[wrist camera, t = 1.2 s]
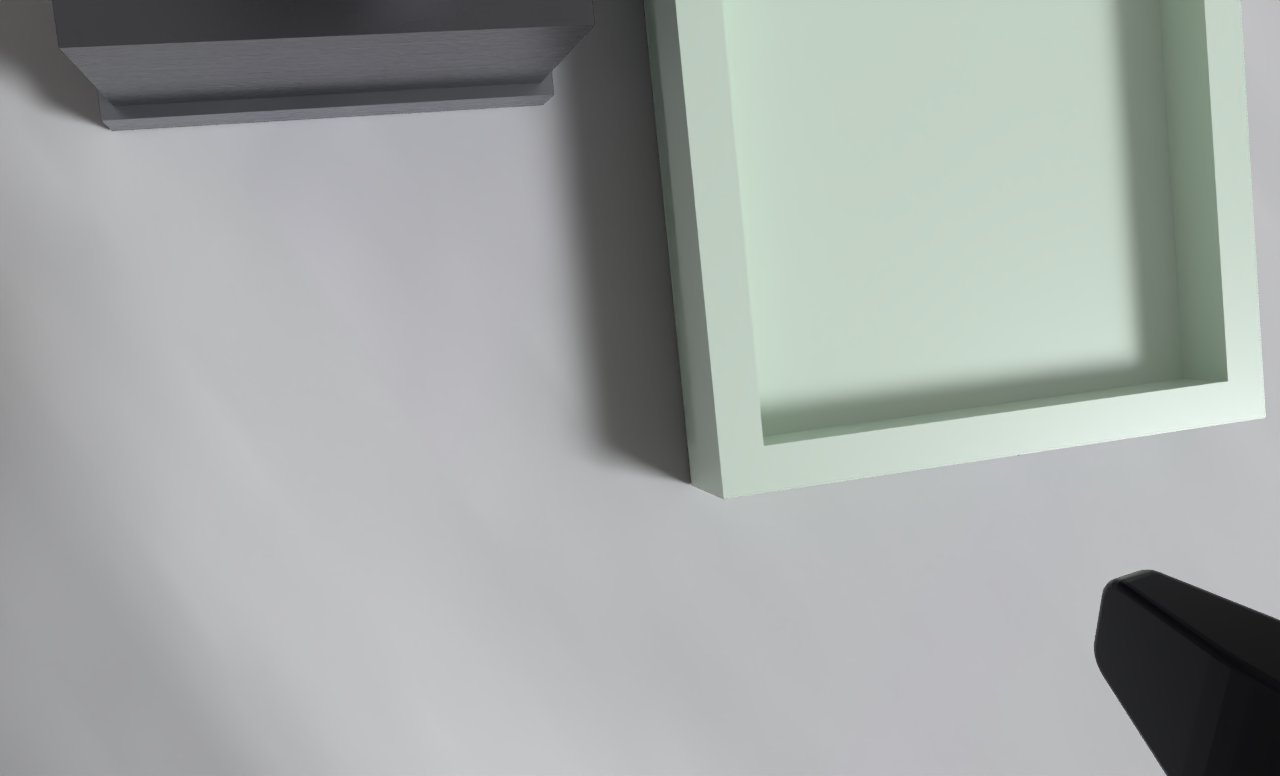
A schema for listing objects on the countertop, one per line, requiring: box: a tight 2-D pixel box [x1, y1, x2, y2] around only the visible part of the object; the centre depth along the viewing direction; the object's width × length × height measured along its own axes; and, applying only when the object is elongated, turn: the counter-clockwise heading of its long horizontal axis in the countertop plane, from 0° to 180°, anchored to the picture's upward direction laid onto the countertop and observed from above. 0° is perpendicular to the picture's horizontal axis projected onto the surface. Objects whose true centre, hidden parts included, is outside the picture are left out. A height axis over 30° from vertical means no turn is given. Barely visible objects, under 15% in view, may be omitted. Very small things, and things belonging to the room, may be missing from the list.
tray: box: [644, 0, 1266, 499], centre depth 22 cm, size 11×11×2 cm
